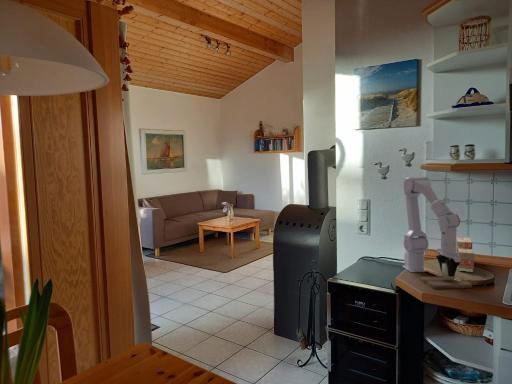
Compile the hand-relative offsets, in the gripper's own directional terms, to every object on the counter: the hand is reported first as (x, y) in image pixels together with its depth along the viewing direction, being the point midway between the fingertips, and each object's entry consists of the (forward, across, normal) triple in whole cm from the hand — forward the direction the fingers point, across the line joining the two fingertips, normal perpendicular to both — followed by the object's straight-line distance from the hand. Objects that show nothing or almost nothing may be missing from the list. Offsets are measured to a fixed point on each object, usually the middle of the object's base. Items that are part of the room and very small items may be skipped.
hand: (447, 274), depth 164 cm
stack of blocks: (+4, +23, -22) cm, 32 cm away
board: (+4, 0, +1) cm, 4 cm away
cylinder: (+2, 0, 0) cm, 2 cm away
